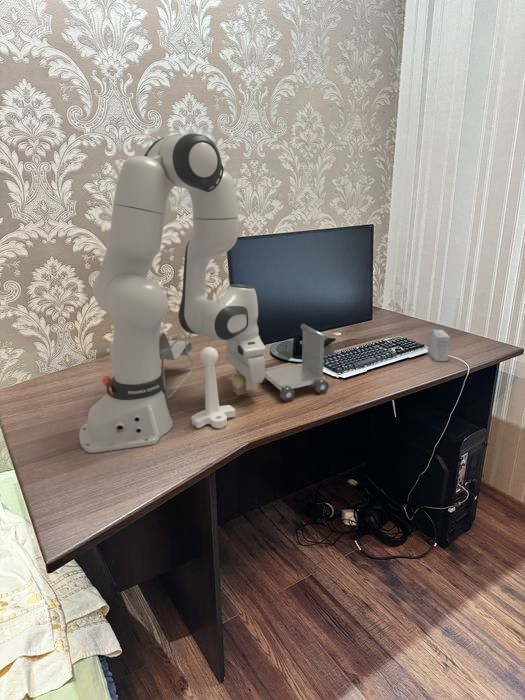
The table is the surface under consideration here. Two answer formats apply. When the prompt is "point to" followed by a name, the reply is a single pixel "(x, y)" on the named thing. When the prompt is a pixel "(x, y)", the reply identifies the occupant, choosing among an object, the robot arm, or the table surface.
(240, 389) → the chock
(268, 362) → the table surface
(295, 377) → the cart
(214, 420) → the joystick
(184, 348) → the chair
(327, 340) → the microphone
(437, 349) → the medicine box
